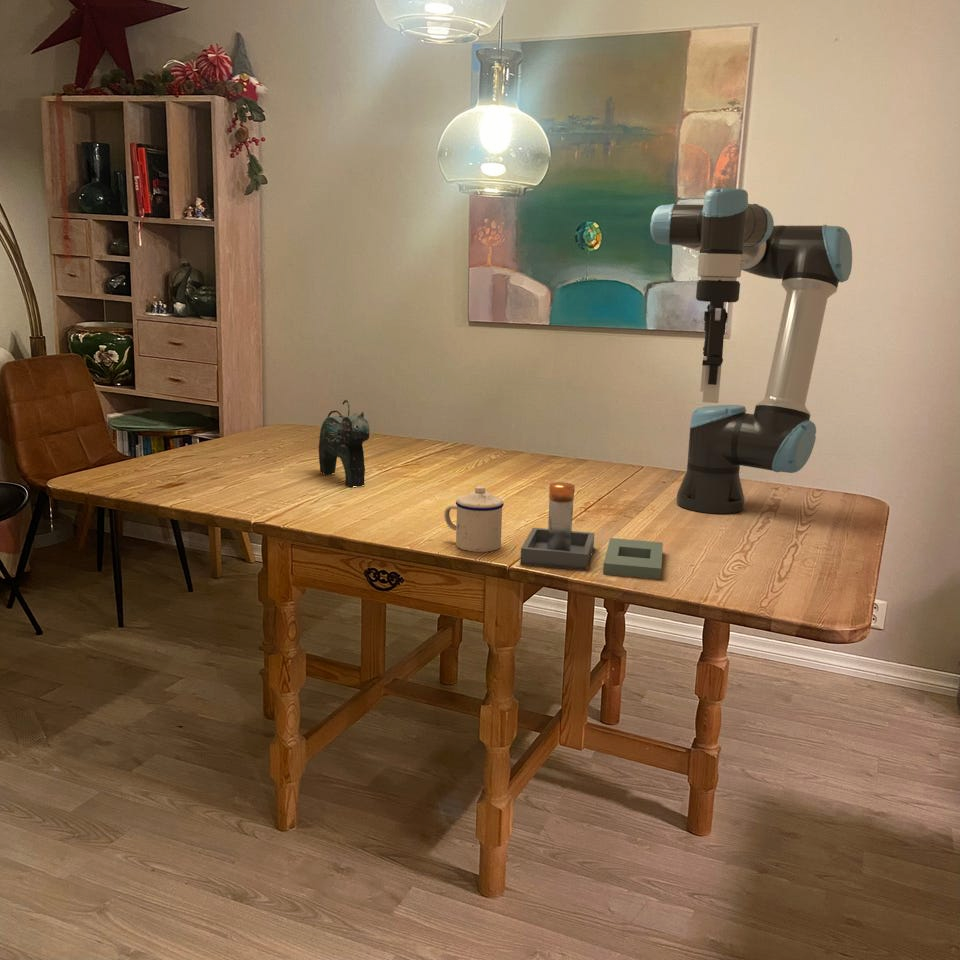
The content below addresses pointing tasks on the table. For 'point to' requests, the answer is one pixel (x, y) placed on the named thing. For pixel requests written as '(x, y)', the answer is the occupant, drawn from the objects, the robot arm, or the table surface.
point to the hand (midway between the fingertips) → (708, 397)
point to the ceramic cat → (344, 445)
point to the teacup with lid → (477, 521)
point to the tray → (557, 551)
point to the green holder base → (633, 558)
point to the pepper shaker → (560, 516)
